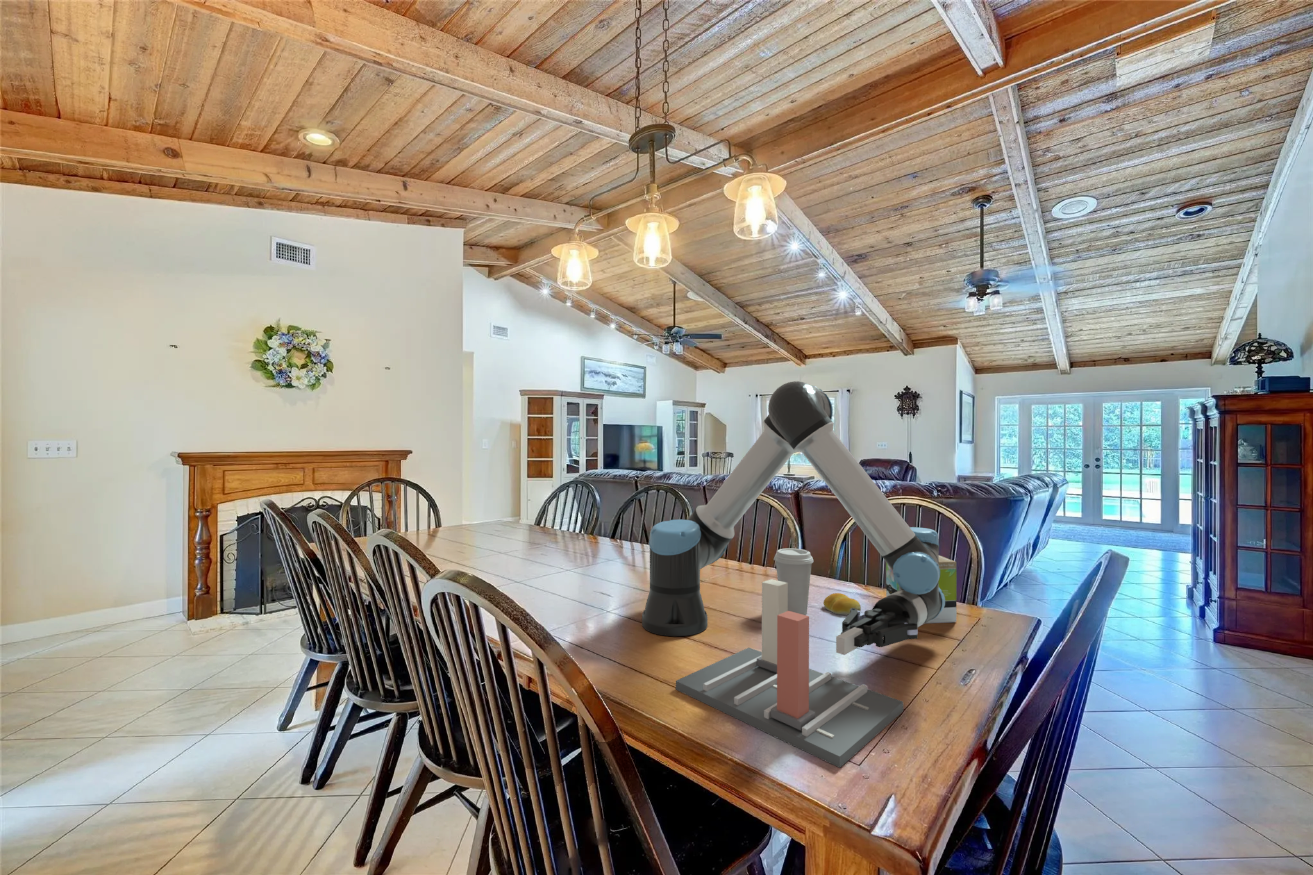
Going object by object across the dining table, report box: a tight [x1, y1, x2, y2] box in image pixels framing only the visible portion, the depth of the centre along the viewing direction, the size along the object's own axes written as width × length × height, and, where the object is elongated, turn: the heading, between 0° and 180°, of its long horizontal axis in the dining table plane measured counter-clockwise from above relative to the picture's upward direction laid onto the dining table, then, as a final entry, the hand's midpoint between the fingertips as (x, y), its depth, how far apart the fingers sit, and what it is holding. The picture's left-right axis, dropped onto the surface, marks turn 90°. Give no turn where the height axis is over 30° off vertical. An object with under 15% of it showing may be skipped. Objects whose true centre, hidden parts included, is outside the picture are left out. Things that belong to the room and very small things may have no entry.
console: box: [675, 647, 904, 769], centre depth 88 cm, size 30×21×2 cm
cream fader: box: [757, 578, 788, 673], centre depth 97 cm, size 5×4×15 cm
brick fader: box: [771, 611, 815, 730], centre depth 79 cm, size 5×4×15 cm
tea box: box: [885, 554, 958, 624], centre depth 132 cm, size 15×10×15 cm, turn 5°
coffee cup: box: [773, 548, 814, 616], centre depth 132 cm, size 10×10×15 cm
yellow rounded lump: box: [822, 592, 862, 616], centre depth 134 cm, size 8×9×4 cm
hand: (840, 645), depth 89 cm, fingers closed
